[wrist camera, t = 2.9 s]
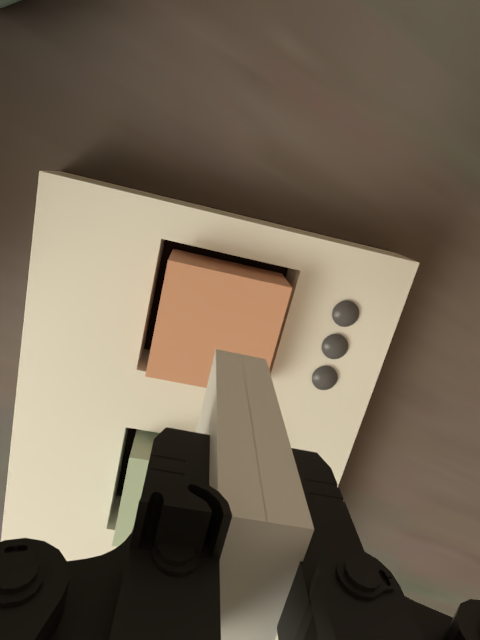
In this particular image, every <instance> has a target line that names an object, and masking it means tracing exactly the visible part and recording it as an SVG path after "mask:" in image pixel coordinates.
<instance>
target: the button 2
mask: <svg viewBox="0 0 480 640" xmlns="http://www.w3.org/2000/svg"><path fill="white" fill-rule="evenodd" d="M158 434H160V433H156V432H150V431H145V430H139V429H137V431H136V435H135V438H134V442H133V446H132V449H131V453H130V456H129V461H128V466H127V471H126V476H125V482H124V487H123V492H122V497H121V502H120V507H119V512H118V517H117V522H116V527H115V533H114V538H113V543H112V546H116V547H118V546H119V545H121V544H122V543H123V542H124V541H125V540H126V539H127V538H128V536H129V535H130V534H131V532H132V530H133V527H134V523H135V518H136V514H137V509H138V504H139V500H140V499H141V495H142V490H143V486H144V481H145V477H146V472H147V468H148V463H149V459H150V454H151V450H152V445H153V441H154V438H155V437H156V436H157V435H158Z"/></svg>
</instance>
